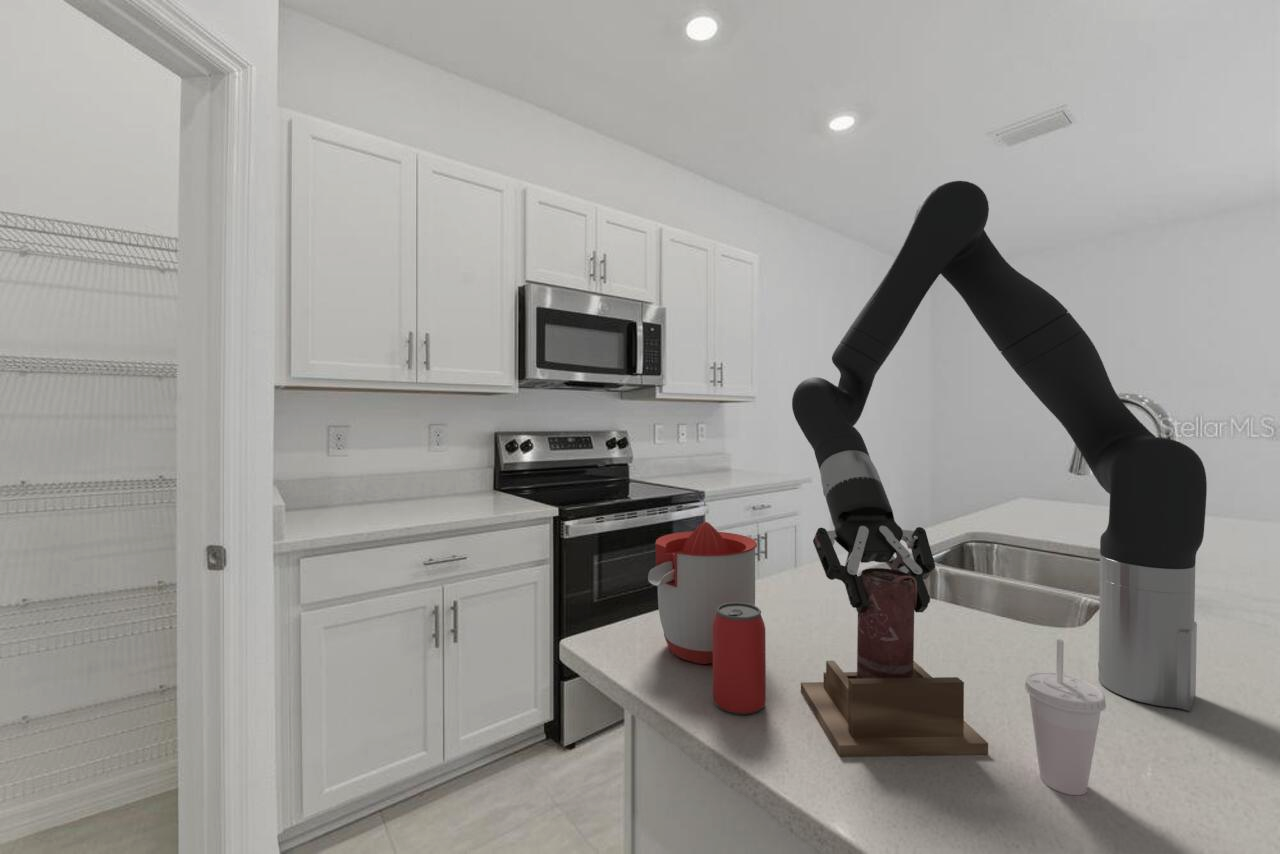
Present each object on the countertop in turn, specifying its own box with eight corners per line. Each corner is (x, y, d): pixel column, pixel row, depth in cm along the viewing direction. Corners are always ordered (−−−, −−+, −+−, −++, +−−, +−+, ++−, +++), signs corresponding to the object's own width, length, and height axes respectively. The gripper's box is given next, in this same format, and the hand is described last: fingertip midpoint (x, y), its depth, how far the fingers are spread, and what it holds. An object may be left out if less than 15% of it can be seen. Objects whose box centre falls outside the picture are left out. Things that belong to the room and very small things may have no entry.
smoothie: (1068, 761, 59) (1070, 629, 59) (1123, 804, 53) (1125, 656, 52) (1009, 763, 59) (1010, 630, 58) (1056, 806, 52) (1058, 657, 52)
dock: (800, 691, 74) (800, 637, 74) (921, 689, 74) (921, 635, 74) (839, 756, 60) (839, 690, 60) (988, 754, 60) (988, 687, 60)
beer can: (702, 703, 71) (701, 609, 71) (733, 685, 76) (732, 597, 76) (745, 723, 67) (745, 623, 66) (775, 703, 71) (775, 609, 71)
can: (921, 706, 63) (924, 583, 63) (862, 700, 65) (863, 579, 64) (907, 680, 69) (909, 567, 69) (853, 675, 71) (854, 565, 70)
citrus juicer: (629, 643, 90) (627, 519, 90) (718, 623, 98) (717, 509, 98) (679, 685, 76) (678, 538, 76) (779, 658, 84) (778, 525, 84)
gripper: (807, 475, 73) (839, 595, 62) (916, 474, 74) (969, 594, 62) (795, 508, 79) (823, 624, 68) (897, 507, 79) (942, 623, 68)
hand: (892, 609), depth 65 cm, fingers closed on can, 6 cm apart
